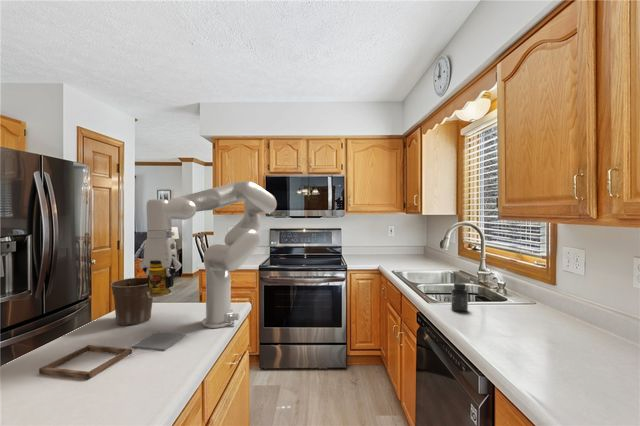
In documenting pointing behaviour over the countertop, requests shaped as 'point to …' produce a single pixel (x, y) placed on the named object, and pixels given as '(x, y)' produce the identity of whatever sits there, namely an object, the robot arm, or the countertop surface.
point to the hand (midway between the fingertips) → (160, 286)
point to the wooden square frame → (54, 371)
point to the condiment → (157, 280)
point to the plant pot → (131, 301)
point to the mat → (159, 341)
